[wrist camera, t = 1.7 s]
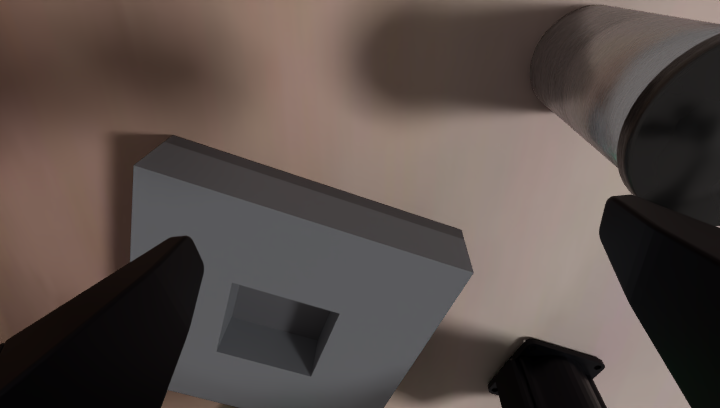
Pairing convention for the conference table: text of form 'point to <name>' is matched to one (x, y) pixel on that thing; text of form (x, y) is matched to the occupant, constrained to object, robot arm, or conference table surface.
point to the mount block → (294, 281)
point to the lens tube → (640, 99)
